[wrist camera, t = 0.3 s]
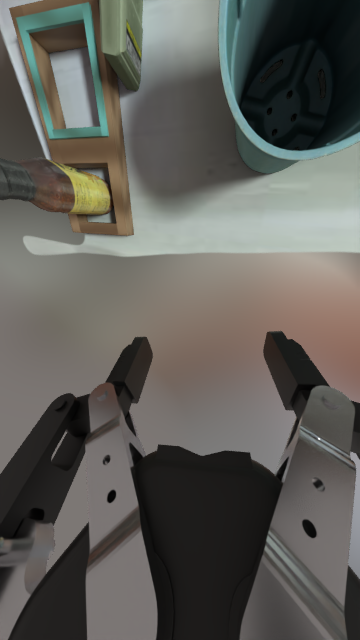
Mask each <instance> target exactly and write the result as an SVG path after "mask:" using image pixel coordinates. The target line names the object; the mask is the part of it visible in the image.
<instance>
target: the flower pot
mask: <svg viewBox="0 0 360 640" xmlns="http://www.w3.org/2000/svg"><path fill="white" fill-rule="evenodd" d="M218 50H219V63H220V71H221V77H222V83H223V87H224V92H225V96H226V99H227V102H228V105H229V108H230V110H231V113H232V115H233V117H234V119H235V131H236V142H237V147H238V151H239V153H240V156H241V158H242V159H243V161H244V162H245V164H246V165H247V166H248V167H250V168H251V169H252V170H255V171H258V172H261V173H274V172H278V171H281V170H283V169H285V168H287V167H289V166H291V165H292V164H294V163H296V162H298V161H300V160H311V159H315V158H319V157H324V156H327V155H330V154H333V153H336V152H338V151H341V150H343V149H345V148H348V147H350V146H352V145H354V144H356V143H358V142H359V141H360V0H220V1H219V16H218ZM281 59H282V60H283V64H282V65H281V67H279V68H278V69H277V70H276V71H274V72H273V73H272V74H271V75H270V76H269V77H268V78H267V79H266V81H265V82H264V83H261V82H260V79H261V77H262V76H263V75H264V74H265V72H266V71H267V70H268V69H269V68H270V67H271V66H272V65H273V64H275V63H276V62H278V61H279V60H281ZM320 69H323V71H324V76H325V81H326V95H325V97H324V98H322V99H321V98H320V84H319V79H318V72H319V70H320ZM290 90H292V92H293V95H292V97H291V98H290V99H287V93H288V92H289V91H290ZM270 107H271V108H272V109H273V110H272V113H271V114H270V115H268V114H267V110H268V108H270ZM293 114H297V118H296V120H295V121H291V117H292V115H293ZM274 129H276V130H277V134H276V135H275V136H272V131H273V130H274ZM297 147H299V151H293V150H294V149H295V148H297Z"/></svg>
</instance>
